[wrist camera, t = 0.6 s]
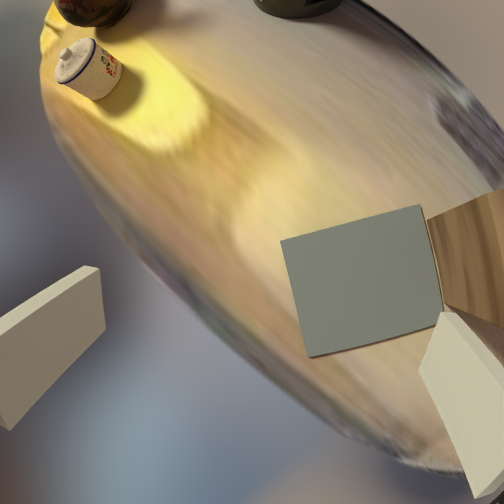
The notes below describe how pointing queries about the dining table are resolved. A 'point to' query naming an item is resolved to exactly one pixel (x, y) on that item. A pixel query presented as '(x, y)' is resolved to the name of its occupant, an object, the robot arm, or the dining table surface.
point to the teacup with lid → (88, 69)
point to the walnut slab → (472, 256)
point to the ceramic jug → (92, 12)
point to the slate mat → (363, 281)
